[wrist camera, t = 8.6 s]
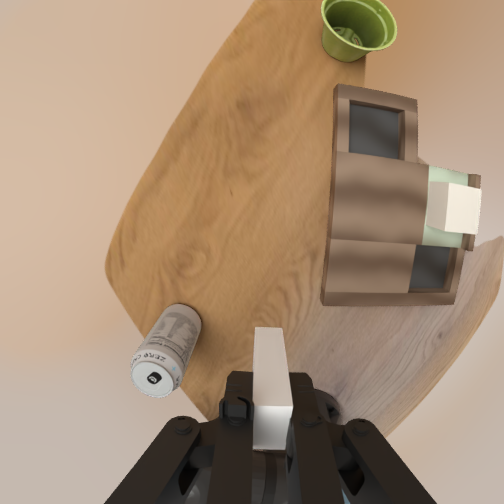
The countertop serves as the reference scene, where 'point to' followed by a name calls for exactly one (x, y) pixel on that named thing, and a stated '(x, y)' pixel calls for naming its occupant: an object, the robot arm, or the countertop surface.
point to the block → (453, 207)
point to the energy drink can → (166, 351)
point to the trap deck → (385, 209)
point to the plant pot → (356, 28)
